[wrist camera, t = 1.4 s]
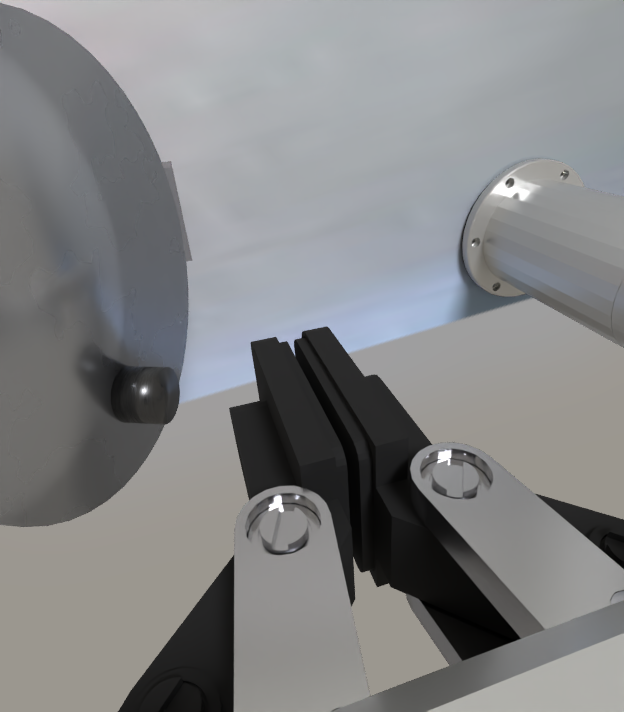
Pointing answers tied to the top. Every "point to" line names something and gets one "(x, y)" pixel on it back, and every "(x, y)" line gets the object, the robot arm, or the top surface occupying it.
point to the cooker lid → (80, 280)
